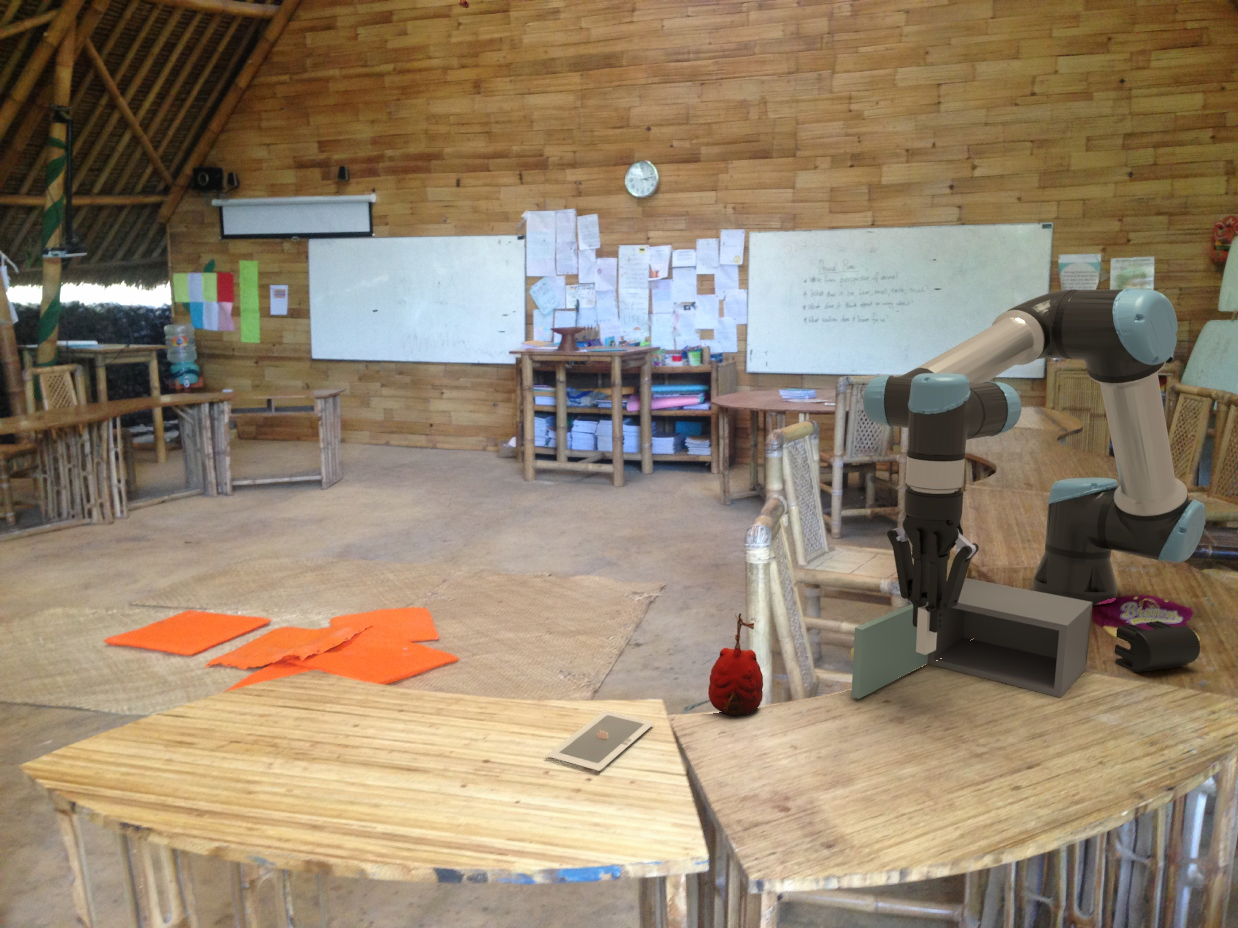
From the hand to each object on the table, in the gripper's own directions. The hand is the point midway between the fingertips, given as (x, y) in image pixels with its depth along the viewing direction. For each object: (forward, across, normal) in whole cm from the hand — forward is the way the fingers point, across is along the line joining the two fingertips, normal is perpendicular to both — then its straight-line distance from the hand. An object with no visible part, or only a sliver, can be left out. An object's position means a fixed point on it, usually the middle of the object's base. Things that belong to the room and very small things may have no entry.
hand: (925, 650), depth 131 cm
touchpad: (+8, +20, +43) cm, 48 cm away
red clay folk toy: (+8, +16, +22) cm, 28 cm away
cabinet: (+9, 0, -23) cm, 24 cm away
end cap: (+9, -16, -41) cm, 45 cm away
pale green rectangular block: (+8, +8, -4) cm, 12 cm away
